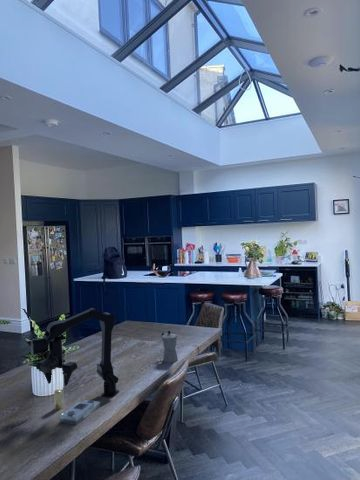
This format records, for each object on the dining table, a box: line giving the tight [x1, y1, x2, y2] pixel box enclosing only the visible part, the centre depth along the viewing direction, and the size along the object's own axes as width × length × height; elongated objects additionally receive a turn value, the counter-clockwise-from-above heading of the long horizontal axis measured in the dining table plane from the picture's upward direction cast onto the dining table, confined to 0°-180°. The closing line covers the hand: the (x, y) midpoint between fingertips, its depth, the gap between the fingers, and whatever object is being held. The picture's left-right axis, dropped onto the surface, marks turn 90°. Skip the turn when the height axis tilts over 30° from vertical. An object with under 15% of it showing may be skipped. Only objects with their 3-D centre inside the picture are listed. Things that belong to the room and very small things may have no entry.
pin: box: [53, 389, 63, 411], centre depth 171 cm, size 3×3×8 cm
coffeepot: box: [161, 330, 178, 364], centre depth 229 cm, size 15×9×18 cm, turn 33°
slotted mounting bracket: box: [59, 399, 101, 426], centre depth 165 cm, size 18×8×4 cm, turn 159°
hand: (57, 384), depth 171 cm, fingers open, 9 cm apart
